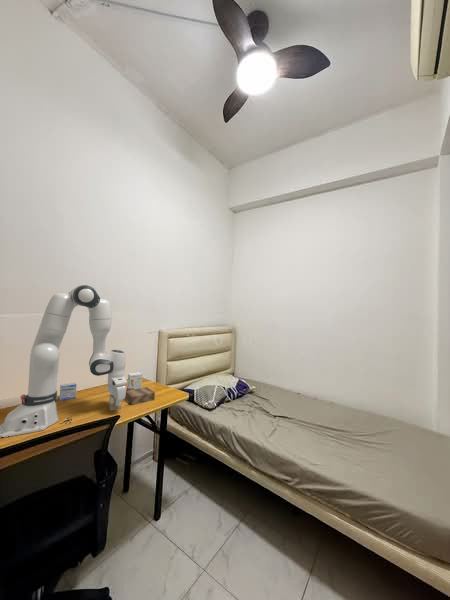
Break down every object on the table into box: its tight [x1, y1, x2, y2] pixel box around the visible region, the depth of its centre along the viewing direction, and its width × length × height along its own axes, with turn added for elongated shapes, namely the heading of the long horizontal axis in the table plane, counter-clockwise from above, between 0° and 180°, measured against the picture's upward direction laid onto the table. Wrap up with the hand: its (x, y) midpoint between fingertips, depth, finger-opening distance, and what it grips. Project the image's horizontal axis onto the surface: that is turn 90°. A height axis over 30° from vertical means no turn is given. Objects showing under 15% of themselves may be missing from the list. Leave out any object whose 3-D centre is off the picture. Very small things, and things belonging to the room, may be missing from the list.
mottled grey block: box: [108, 394, 122, 412], centre depth 134 cm, size 5×5×7 cm
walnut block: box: [124, 386, 156, 406], centre depth 147 cm, size 14×12×5 cm
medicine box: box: [59, 382, 77, 402], centre depth 144 cm, size 8×4×9 cm, turn 131°
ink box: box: [126, 371, 143, 391], centre depth 161 cm, size 9×5×12 cm, turn 126°
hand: (115, 403), depth 134 cm, fingers closed on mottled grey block, 5 cm apart
